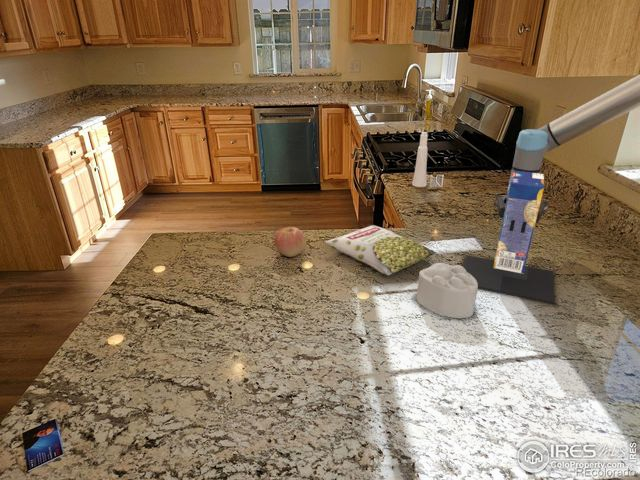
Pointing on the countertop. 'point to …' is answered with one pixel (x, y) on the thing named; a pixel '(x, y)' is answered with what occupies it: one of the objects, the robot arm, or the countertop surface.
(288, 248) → the apple
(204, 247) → the countertop surface
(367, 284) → the countertop surface
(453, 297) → the lumpy-topped squat cylinder
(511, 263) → the beverage box
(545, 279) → the mat
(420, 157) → the cosmetic bottle
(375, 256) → the frozen beans
